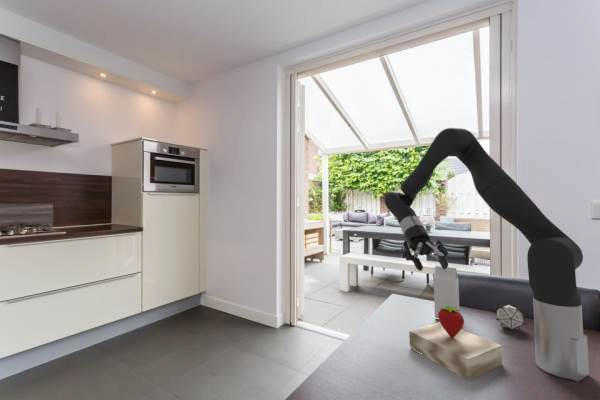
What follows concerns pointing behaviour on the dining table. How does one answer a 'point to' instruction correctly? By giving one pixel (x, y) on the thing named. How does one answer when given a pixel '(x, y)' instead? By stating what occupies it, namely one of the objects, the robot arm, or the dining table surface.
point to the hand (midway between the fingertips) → (433, 268)
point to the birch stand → (457, 350)
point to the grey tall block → (445, 288)
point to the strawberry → (451, 320)
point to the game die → (510, 316)
